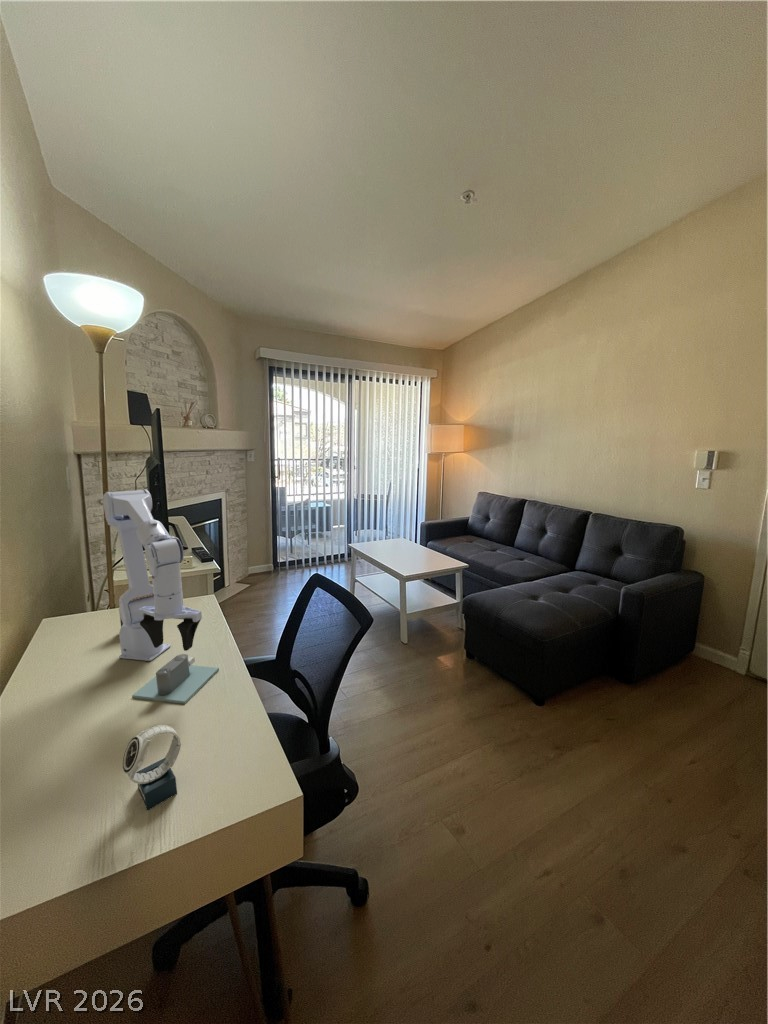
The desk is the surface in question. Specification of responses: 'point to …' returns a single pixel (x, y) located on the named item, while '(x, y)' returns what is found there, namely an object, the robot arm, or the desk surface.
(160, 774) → the watch
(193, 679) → the mat
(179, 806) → the desk surface
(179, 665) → the plug
